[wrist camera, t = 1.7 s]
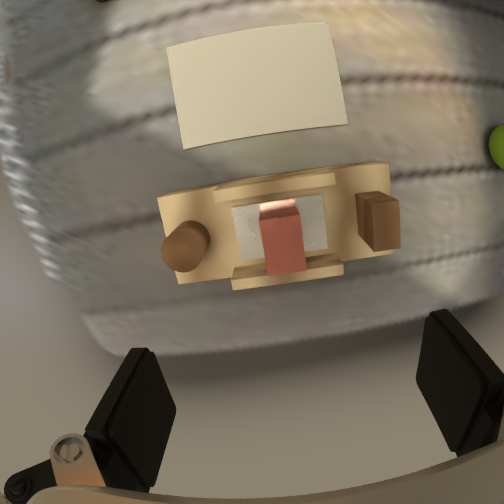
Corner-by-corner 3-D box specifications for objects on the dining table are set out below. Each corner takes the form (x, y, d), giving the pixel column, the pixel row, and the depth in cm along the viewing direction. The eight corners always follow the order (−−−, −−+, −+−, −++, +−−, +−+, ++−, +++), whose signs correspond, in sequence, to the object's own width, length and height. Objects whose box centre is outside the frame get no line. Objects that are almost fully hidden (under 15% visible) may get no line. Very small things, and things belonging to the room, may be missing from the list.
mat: (326, 23, 25) (327, 21, 24) (346, 124, 28) (347, 124, 28) (167, 49, 26) (166, 47, 26) (185, 149, 30) (183, 149, 29)
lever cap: (319, 192, 28) (333, 206, 22) (325, 244, 30) (339, 269, 24) (232, 205, 29) (224, 222, 23) (242, 256, 31) (236, 284, 25)
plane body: (379, 161, 29) (410, 168, 22) (385, 245, 32) (413, 273, 25) (164, 193, 31) (137, 209, 24) (184, 274, 34) (164, 308, 27)
